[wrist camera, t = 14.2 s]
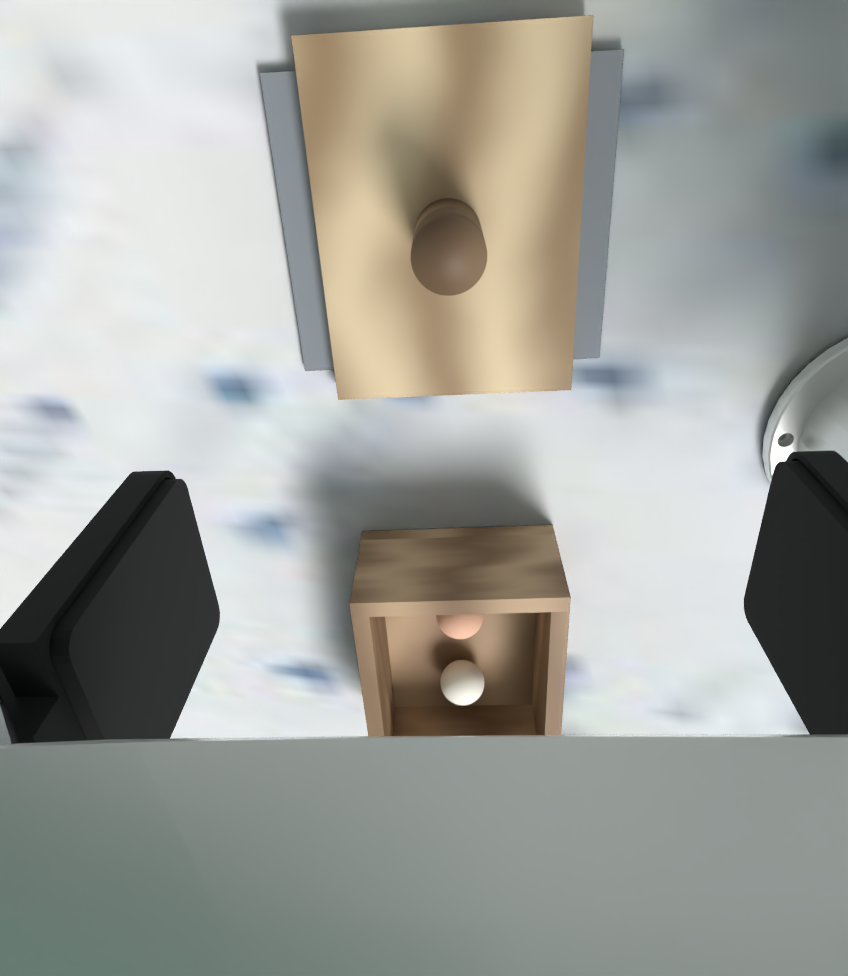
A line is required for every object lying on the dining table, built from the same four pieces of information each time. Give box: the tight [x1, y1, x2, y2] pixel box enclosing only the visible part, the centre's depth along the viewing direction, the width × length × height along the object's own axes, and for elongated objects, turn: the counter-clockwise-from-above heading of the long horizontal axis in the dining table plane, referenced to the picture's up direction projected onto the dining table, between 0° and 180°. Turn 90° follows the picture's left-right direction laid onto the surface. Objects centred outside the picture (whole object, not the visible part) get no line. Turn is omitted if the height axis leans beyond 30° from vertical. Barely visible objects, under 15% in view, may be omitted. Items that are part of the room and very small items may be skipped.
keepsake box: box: [349, 525, 571, 736], centre depth 44 cm, size 12×16×7 cm
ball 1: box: [436, 614, 484, 639], centre depth 43 cm, size 3×3×3 cm
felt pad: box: [260, 49, 624, 371], centre depth 34 cm, size 16×14×1 cm
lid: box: [291, 15, 593, 400], centre depth 31 cm, size 13×17×6 cm
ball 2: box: [440, 660, 484, 705], centre depth 47 cm, size 3×3×3 cm
